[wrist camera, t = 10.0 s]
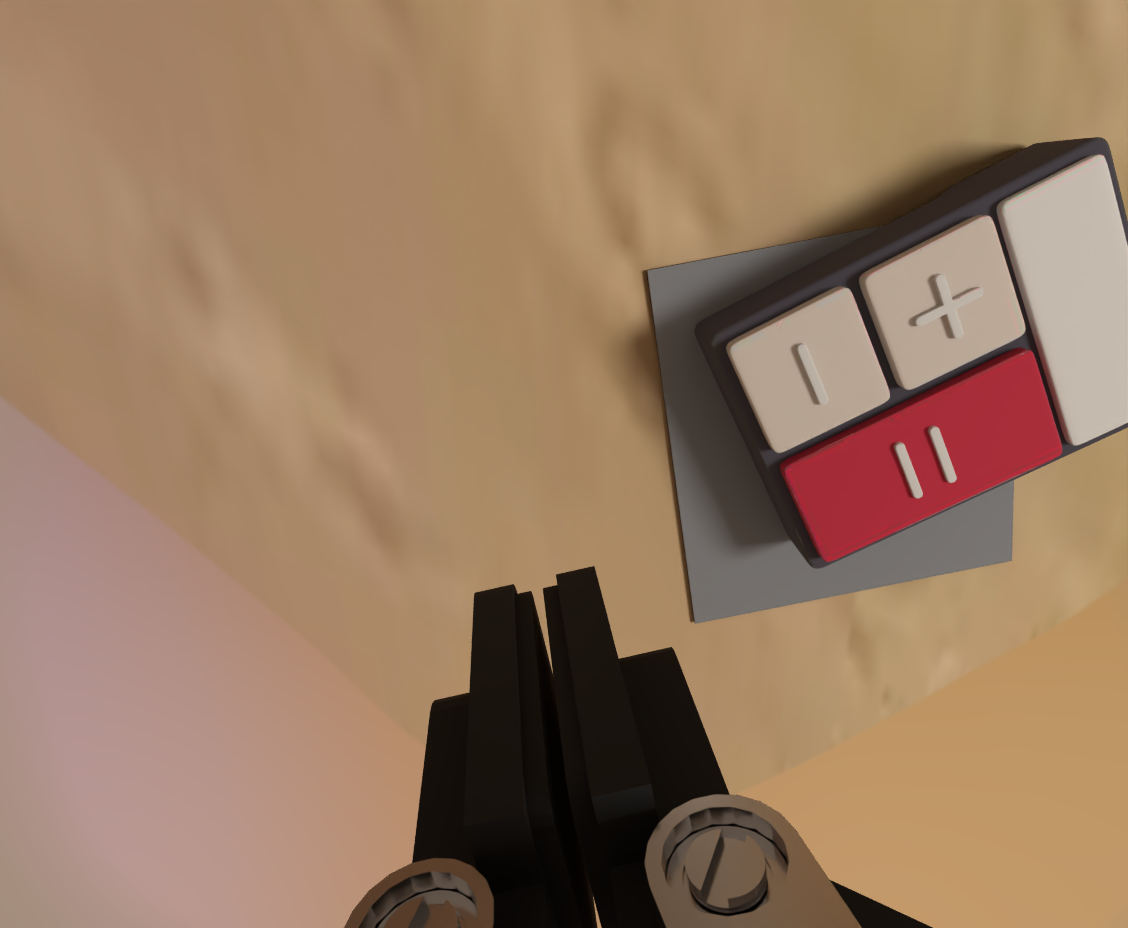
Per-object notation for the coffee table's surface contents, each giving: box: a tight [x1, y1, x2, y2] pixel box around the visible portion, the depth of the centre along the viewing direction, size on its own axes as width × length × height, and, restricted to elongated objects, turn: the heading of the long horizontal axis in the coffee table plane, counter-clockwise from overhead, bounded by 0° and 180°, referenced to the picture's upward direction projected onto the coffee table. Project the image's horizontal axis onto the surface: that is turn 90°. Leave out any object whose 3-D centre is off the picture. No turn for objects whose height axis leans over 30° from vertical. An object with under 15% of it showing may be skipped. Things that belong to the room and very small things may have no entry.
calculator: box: [695, 137, 1128, 569], centre depth 29 cm, size 11×4×15 cm
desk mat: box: [647, 226, 1014, 624], centre depth 32 cm, size 16×15×1 cm
